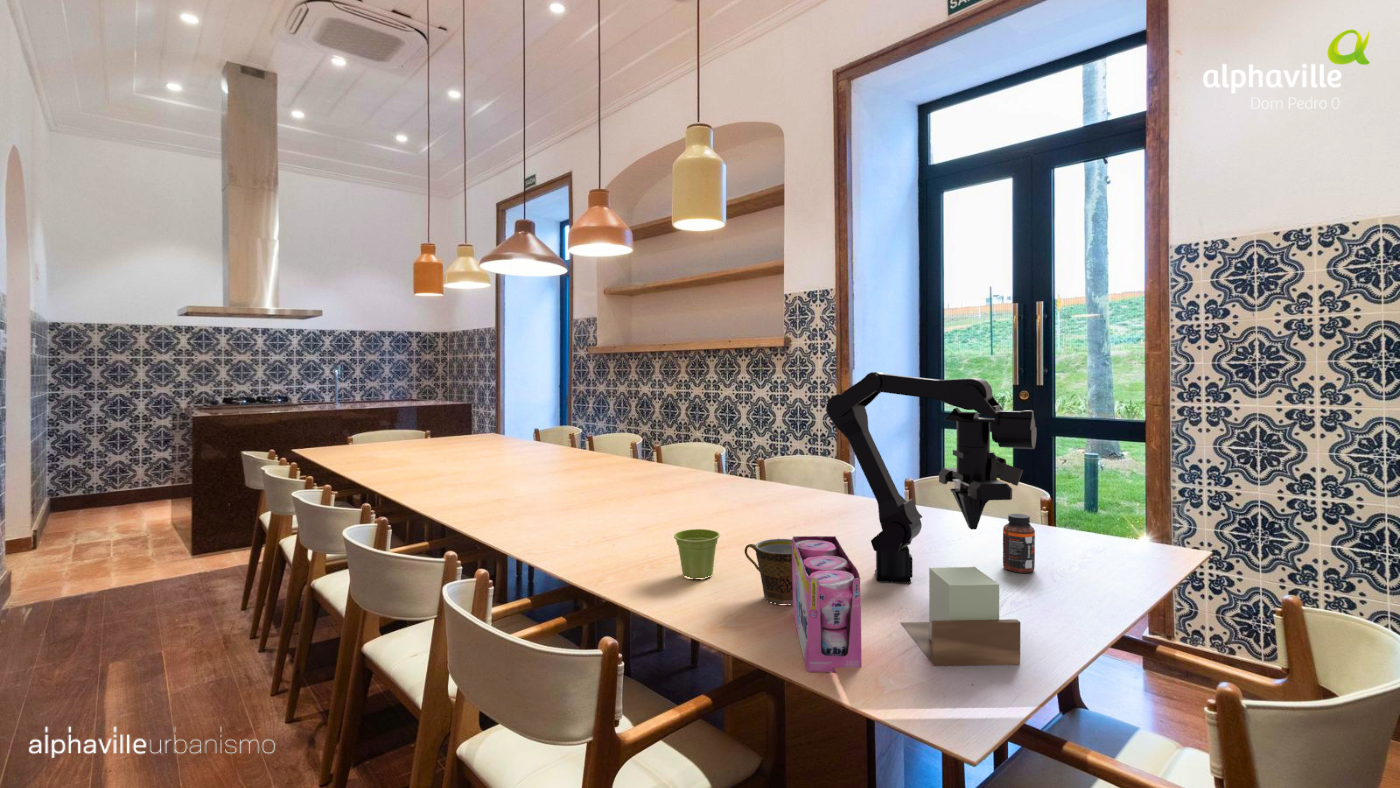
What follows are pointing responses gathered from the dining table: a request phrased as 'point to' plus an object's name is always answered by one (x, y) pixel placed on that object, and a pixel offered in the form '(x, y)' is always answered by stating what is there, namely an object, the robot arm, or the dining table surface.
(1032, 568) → the supplement bottle
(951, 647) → the brown box
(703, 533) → the plant pot
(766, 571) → the ceramic cup
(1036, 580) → the dining table surface
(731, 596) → the dining table surface
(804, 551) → the gum box
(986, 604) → the sage block
